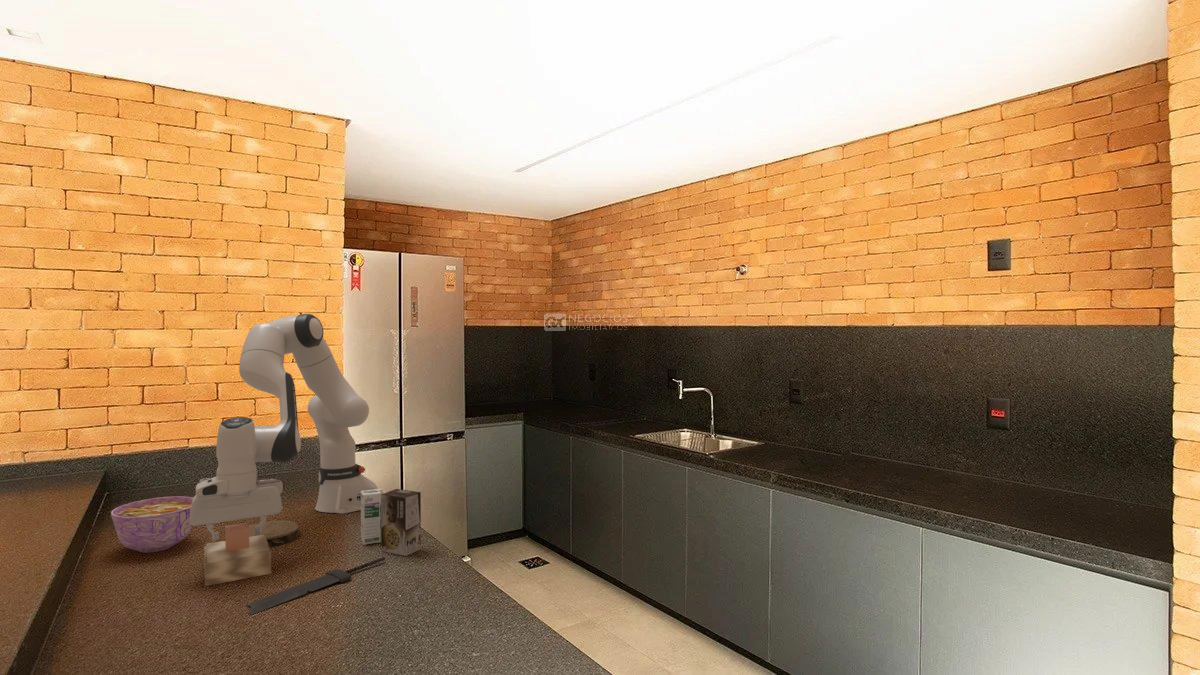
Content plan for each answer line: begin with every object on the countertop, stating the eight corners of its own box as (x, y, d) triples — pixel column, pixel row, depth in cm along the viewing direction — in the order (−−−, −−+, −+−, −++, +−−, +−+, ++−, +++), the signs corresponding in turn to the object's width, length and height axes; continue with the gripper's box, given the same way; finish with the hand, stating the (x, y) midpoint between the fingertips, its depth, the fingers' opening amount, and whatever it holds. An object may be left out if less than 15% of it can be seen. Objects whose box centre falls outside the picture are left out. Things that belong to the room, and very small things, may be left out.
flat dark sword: (237, 611, 137) (236, 602, 137) (376, 559, 165) (376, 551, 165) (252, 620, 133) (252, 611, 133) (392, 565, 161) (392, 557, 161)
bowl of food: (208, 547, 173) (207, 506, 172) (118, 567, 158) (118, 522, 158) (188, 530, 186) (188, 492, 186) (104, 547, 172) (104, 506, 171)
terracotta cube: (247, 541, 160) (247, 522, 160) (249, 547, 156) (249, 528, 156) (225, 545, 158) (225, 526, 158) (226, 551, 153) (226, 531, 153)
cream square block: (265, 555, 167) (265, 533, 167) (271, 573, 155) (271, 549, 155) (204, 566, 159) (204, 543, 159) (204, 586, 147) (204, 561, 147)
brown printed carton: (421, 549, 173) (422, 491, 172) (405, 556, 167) (405, 497, 167) (396, 544, 177) (396, 488, 176) (380, 551, 171) (380, 493, 170)
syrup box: (362, 545, 175) (362, 494, 175) (360, 539, 180) (360, 489, 180) (384, 542, 178) (384, 492, 177) (381, 536, 183) (381, 487, 183)
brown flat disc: (301, 542, 178) (301, 532, 178) (237, 553, 169) (237, 542, 169) (295, 527, 191) (295, 517, 191) (236, 535, 183) (236, 525, 183)
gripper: (281, 474, 165) (281, 525, 165) (189, 485, 154) (189, 540, 154) (284, 479, 160) (284, 532, 160) (189, 490, 148) (189, 547, 149)
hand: (237, 536), depth 157 cm, fingers open, 8 cm apart
